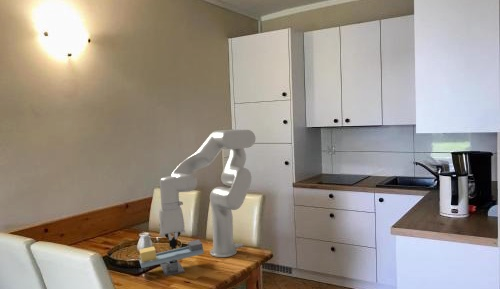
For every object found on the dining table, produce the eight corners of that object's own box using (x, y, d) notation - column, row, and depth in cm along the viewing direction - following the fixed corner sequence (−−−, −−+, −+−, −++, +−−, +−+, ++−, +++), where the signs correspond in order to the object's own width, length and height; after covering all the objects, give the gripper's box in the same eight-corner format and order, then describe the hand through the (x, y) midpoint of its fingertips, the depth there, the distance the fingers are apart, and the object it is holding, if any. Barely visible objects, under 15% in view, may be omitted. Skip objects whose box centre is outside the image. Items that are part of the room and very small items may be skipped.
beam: (199, 248, 174) (197, 238, 173) (204, 255, 165) (203, 244, 165) (139, 262, 164) (138, 251, 164) (141, 269, 156) (140, 258, 155)
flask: (151, 261, 175) (150, 239, 175) (136, 260, 177) (135, 238, 176) (158, 255, 182) (157, 234, 182) (144, 254, 184) (143, 234, 183)
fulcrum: (178, 263, 172) (178, 253, 172) (184, 272, 161) (184, 262, 160) (160, 265, 169) (160, 256, 169) (165, 275, 158) (164, 265, 158)
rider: (155, 256, 164) (153, 246, 164) (156, 260, 160) (155, 249, 159) (140, 259, 162) (139, 249, 162) (141, 263, 158) (140, 253, 157)
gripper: (186, 201, 170) (188, 242, 171) (151, 206, 164) (154, 248, 166) (189, 205, 163) (192, 247, 164) (153, 210, 157) (156, 254, 159)
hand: (173, 247), depth 165 cm, fingers closed
